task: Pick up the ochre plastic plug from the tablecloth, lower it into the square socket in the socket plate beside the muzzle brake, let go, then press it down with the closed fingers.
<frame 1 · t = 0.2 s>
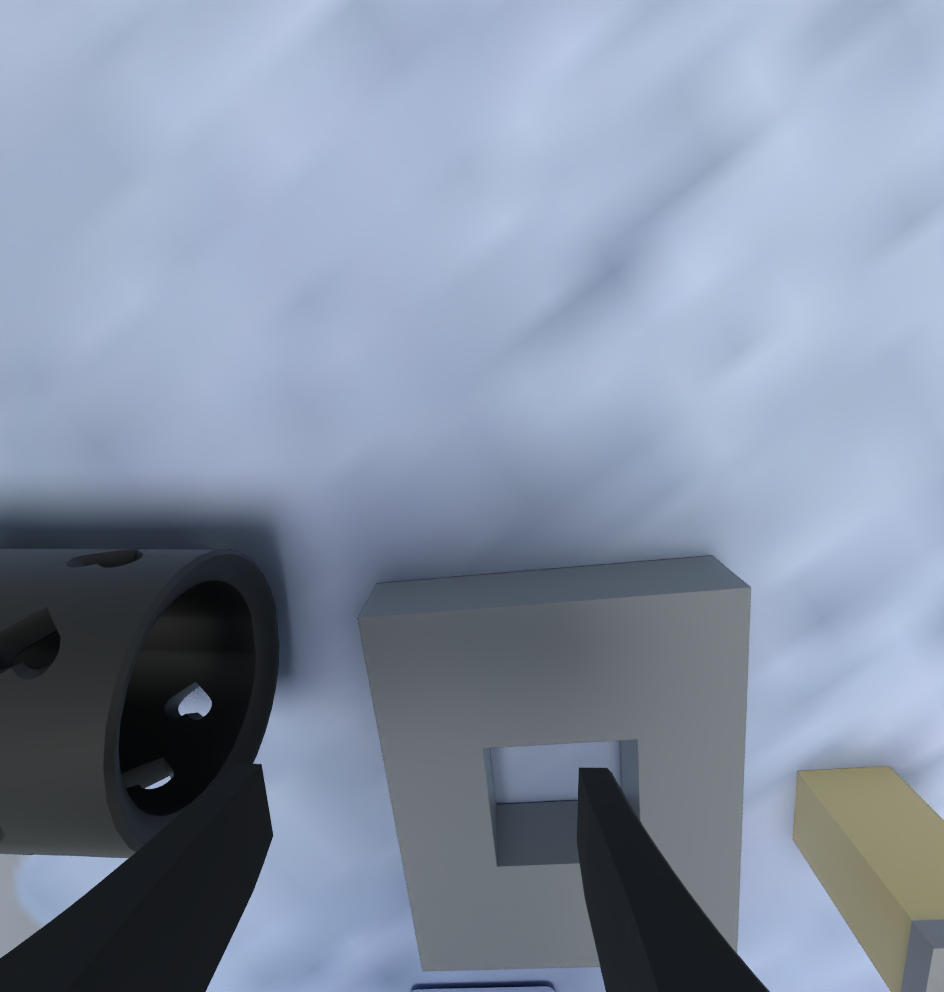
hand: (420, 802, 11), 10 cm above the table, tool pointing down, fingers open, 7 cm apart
socket plate: (554, 749, 22), on the table
plug: (839, 803, 22), on the table
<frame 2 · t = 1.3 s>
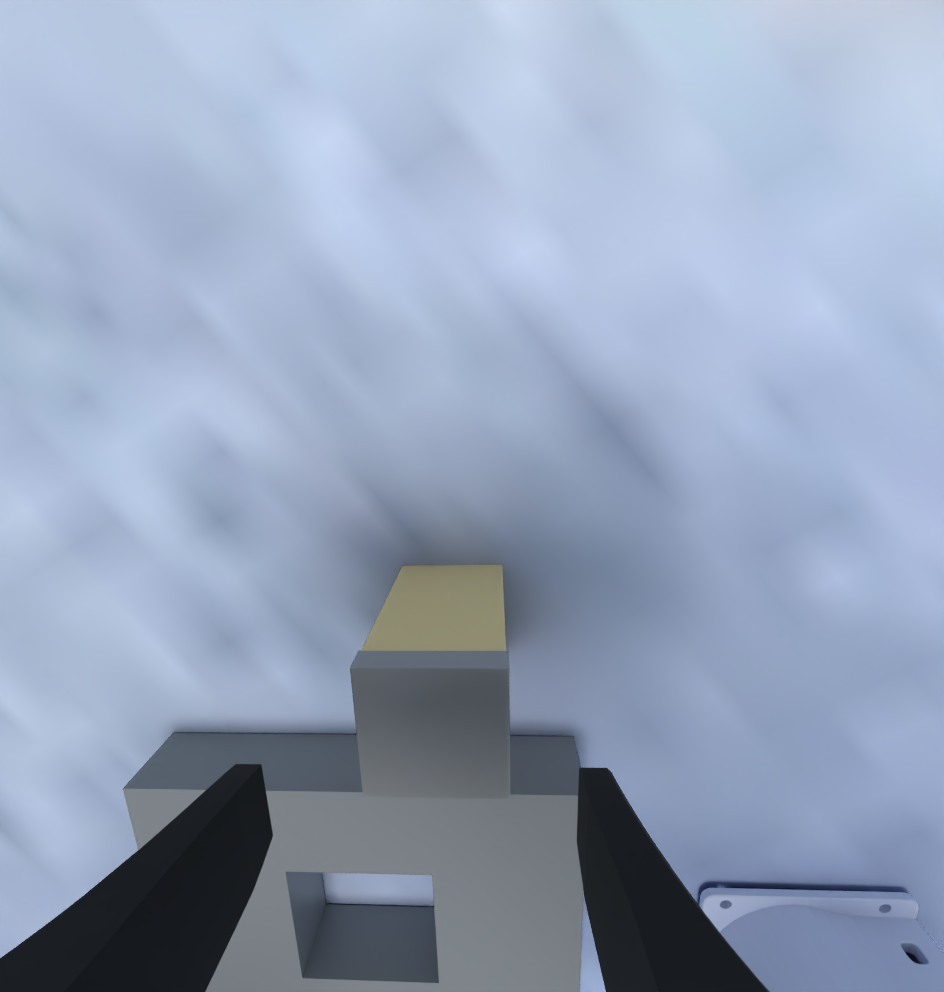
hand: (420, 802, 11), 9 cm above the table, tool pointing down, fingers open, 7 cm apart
socket plate: (380, 858, 23), on the table
plug: (454, 610, 19), on the table
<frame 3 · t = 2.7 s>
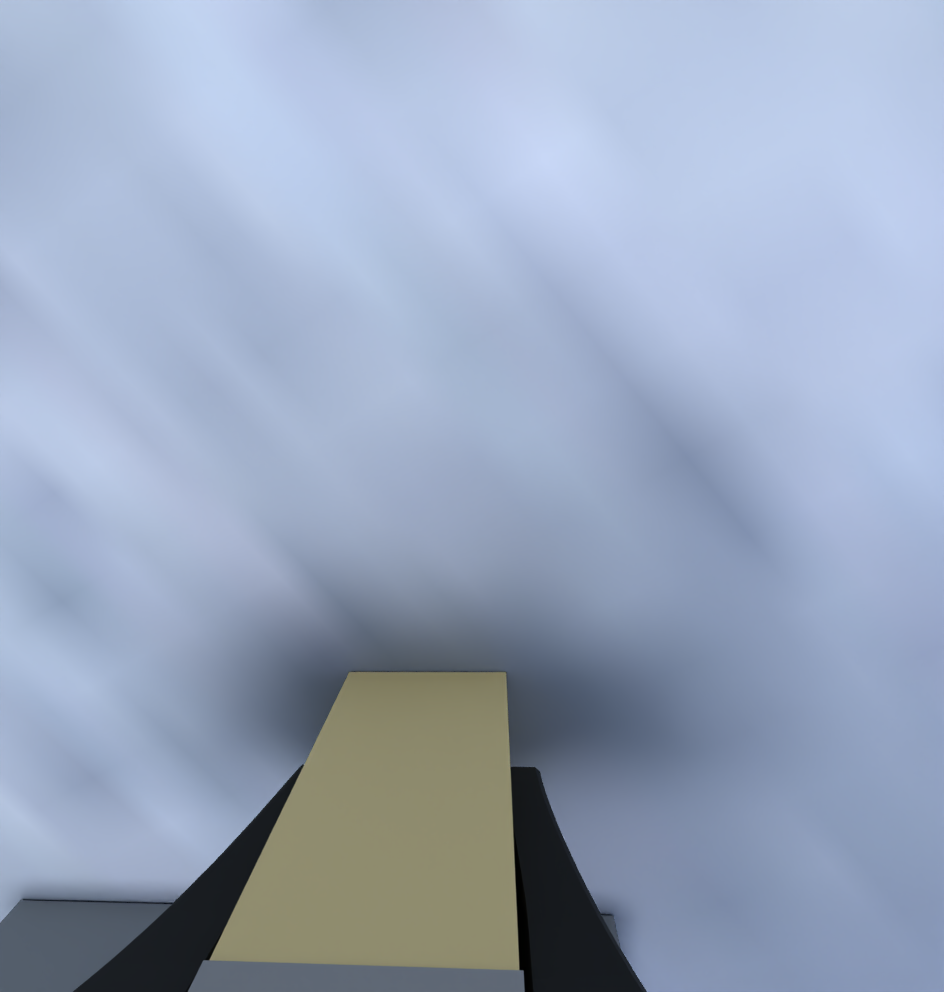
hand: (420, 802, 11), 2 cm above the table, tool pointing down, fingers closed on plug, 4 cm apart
plug: (430, 738, 12), on the table, touching gripper
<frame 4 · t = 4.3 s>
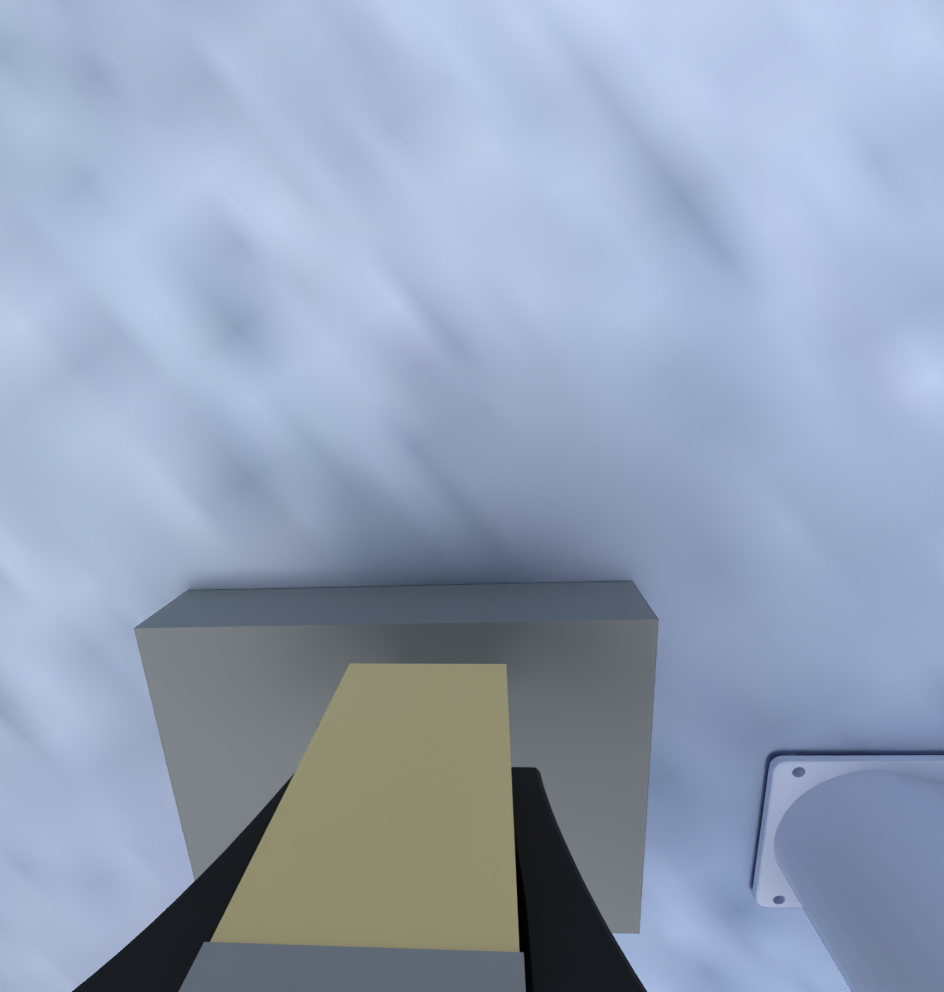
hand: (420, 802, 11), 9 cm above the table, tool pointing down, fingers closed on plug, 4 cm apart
socket plate: (416, 733, 21), on the table
plug: (431, 730, 13), point 7 cm above the table, touching gripper
when the fingers open (4 cm above the table, at t = 6.1 s): plug drops 2 cm, resting in socket plate.
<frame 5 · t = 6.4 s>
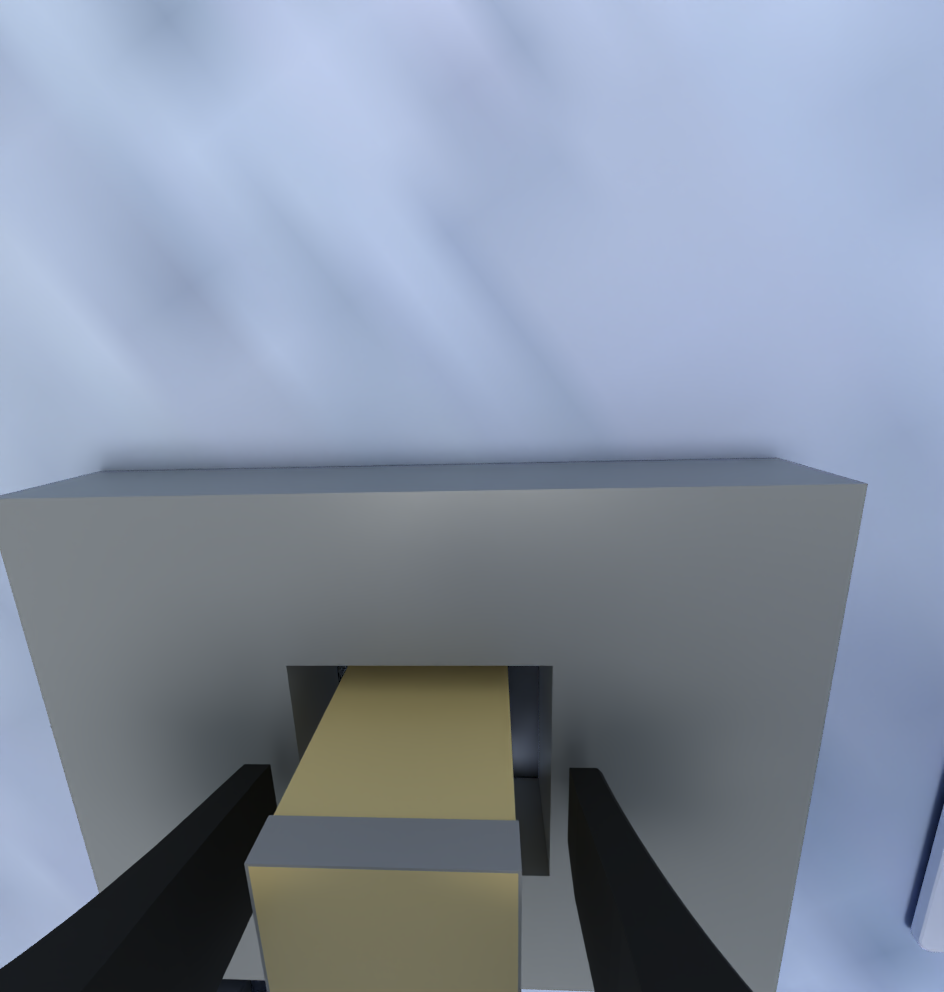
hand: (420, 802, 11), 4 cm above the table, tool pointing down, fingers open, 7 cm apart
socket plate: (438, 694, 14), on the table
plug: (439, 686, 14), resting in socket plate
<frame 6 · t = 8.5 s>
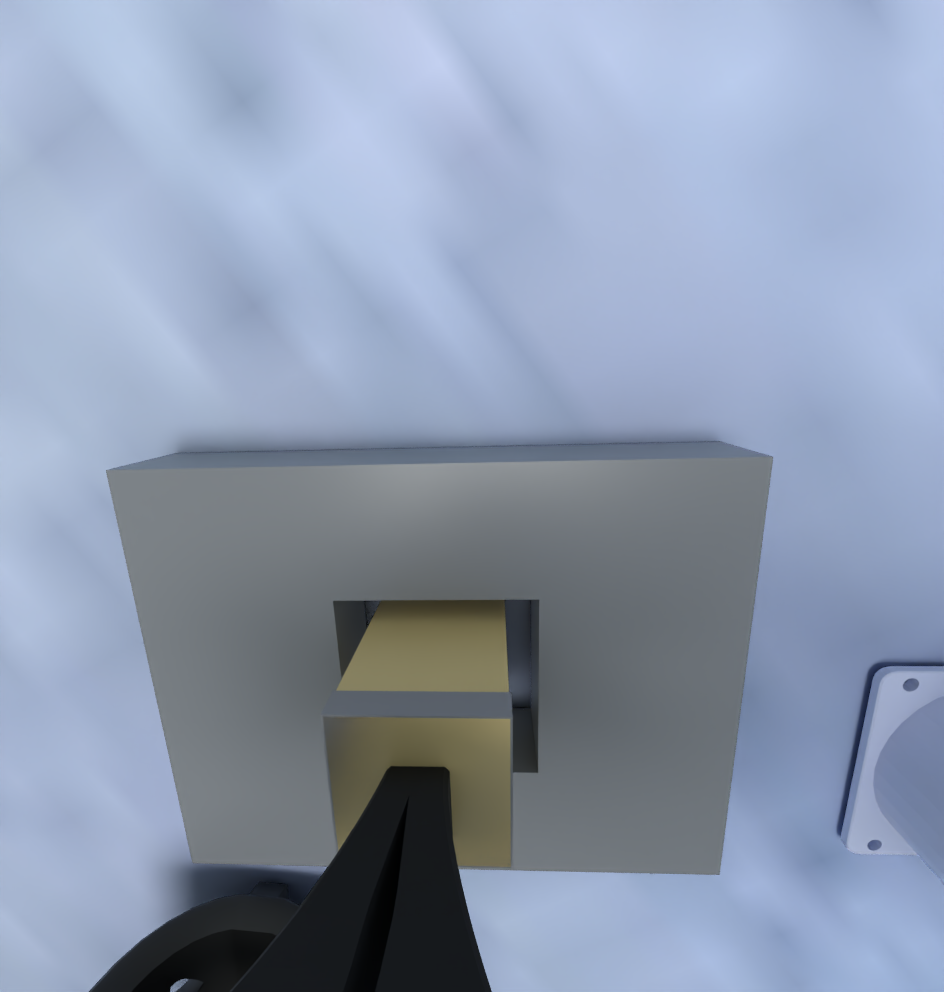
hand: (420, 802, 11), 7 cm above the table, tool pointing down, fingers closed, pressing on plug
socket plate: (448, 637, 17), on the table
plug: (449, 630, 17), resting in socket plate, touching gripper
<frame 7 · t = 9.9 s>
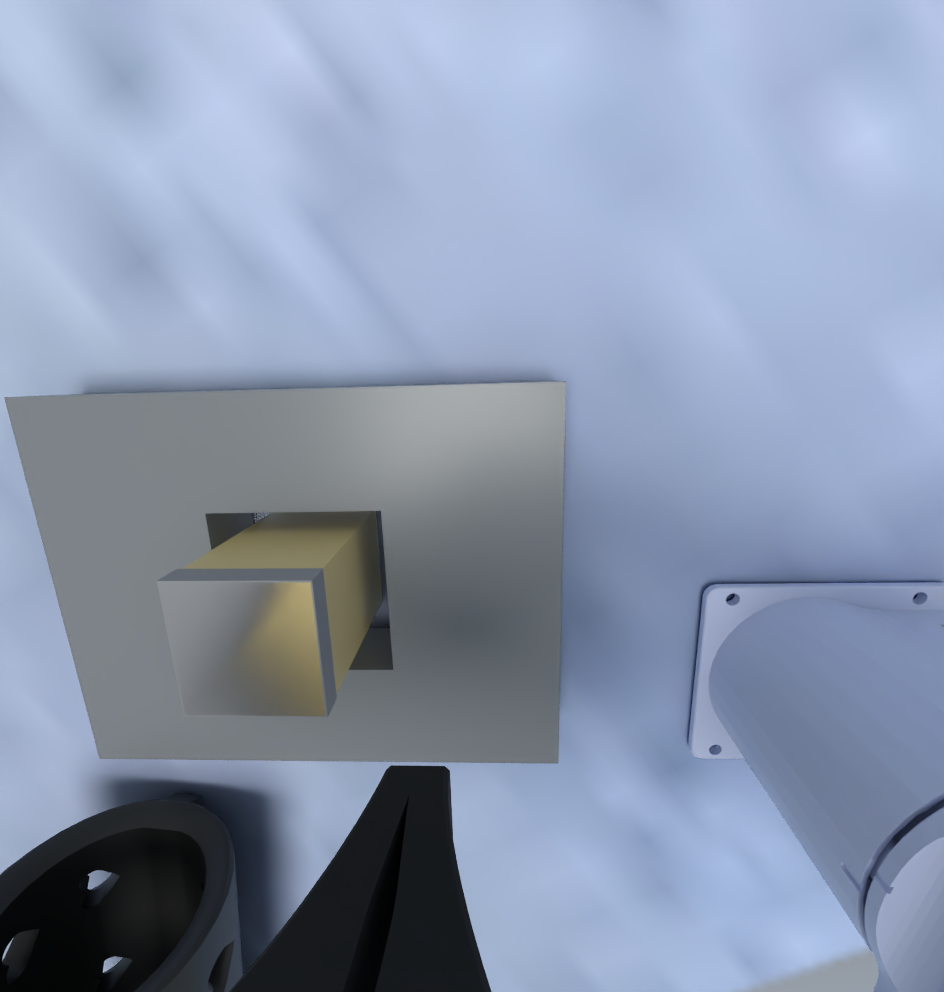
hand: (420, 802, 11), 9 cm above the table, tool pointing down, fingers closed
muzzle brake: (213, 980, 26), on the table
socket plate: (330, 561, 19), on the table
plug: (331, 555, 19), resting in socket plate
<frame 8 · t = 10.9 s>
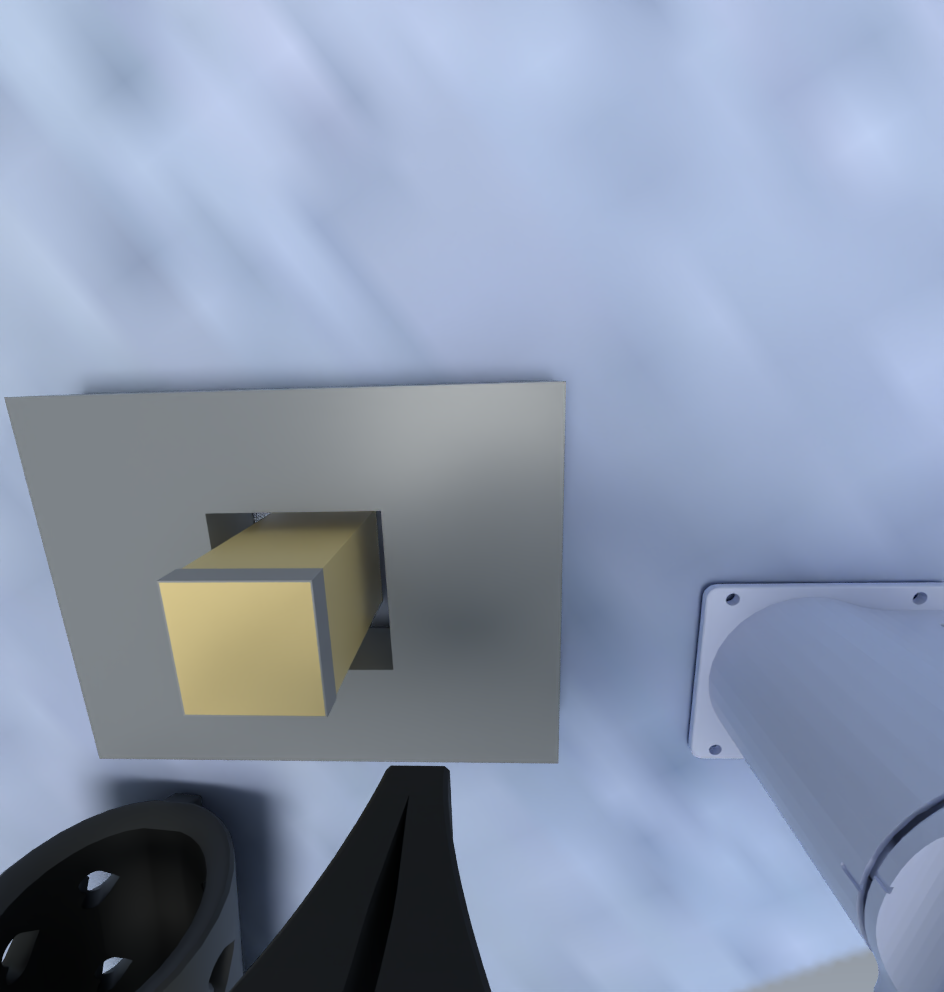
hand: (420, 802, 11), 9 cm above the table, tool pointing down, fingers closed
muzzle brake: (213, 980, 26), on the table
socket plate: (330, 561, 19), on the table
plug: (331, 555, 19), resting in socket plate
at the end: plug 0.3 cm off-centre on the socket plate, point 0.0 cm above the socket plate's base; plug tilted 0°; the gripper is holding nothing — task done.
